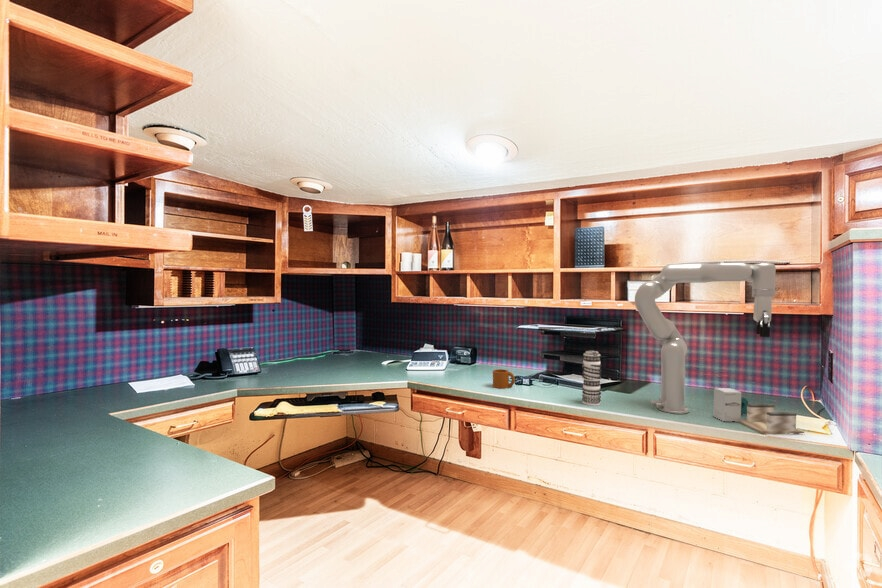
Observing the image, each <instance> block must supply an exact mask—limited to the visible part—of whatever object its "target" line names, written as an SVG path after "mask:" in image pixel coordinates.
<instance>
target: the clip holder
mask: <svg viewBox="0 0 882 588" xmlns="http://www.w3.org/2000/svg"><path fill="white" fill-rule="evenodd" d="M740 423H741V425H742V426H745V427H747V428H748V429H751V430H753V431H755V432H757V433H759V434H762V435H790V434H789V433H794V434H793V435H798V434H797V433H804V434H805V430H802V429H799V428H797V413H796V412H793V411H792V412H791V411H790V412H789V411H783V412H781V411H780V412H779V411H777V412H776V411H775V405H774V404H772V403H748V404H747V415H746V419H745V420H744V419H743V420H742V419H741V420H739V422H738V424H740ZM796 428H797V429H796ZM785 433H787V434H785Z"/></svg>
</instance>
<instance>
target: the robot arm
mask: <svg viewBox="0 0 882 588" xmlns="http://www.w3.org/2000/svg"><path fill="white" fill-rule="evenodd" d="M776 268H777V267H776V265H775V264H774V263H772V262H771V263H769V262H767V263H766V262H762V263H755V264H750V263H745V262H731V263H730V262H728V263H727V262H723V263H706V262H704V263H703V262H700V263H699V262H696V263H670V264H669V263H668V264H666V265H664V266H663V267H662V269H661V271H660V273H659V274H657V275H656V276H655V277H653V279H651V280H650V281H646V282H643V283H642V284H641V285H640V286H639V287H638V289H637V290H636V293H635V295H634V305H635V307H636V310H637V312H638V314H639V316H640V317H641V318H642V320H643V322H644V324H645V326H646V328H647V329H648V331H649V334H650V335H651V336H652V337H653V338H655V339H656V340H658V342H659V343H660V345H661V346H662V347H661V350H660V362H661V364H660V365H661V368H660V369H661V373H660V374H661V375H660V376H661V377H660V379H661V381H660V398H658V399H657V400H649V404H650V405H651V406H656V409H658V411H661V412H664V413H669V414H677V415H678V414H679V415H680V414H681V415H683V414H688V413H689V411H690V410H689V408H688V407H686V406H685V405H686V403H685V401H686V399H685V398H686V355H687V352H688V346H687V343H686V341H685V339H684V338H683V336H682V335H681V333H680V332H679V330H678V329H677V327H676V325H675V324H674V323H673V321H671V320H670V319H669V318H666V317H665V315H664V314H663V312H662V310H661V309H660V307H659V306H658V305H657V303H656V300H657V299H658V298H660V297H662V296H663V295H664V294H666V292H668V291H669V290H671V289H672V288H673V287H675V285H676V284H678V283H679V284H683V283H684V284H686V283H689V284H690V283H693V284H695V283H700V284H702V283H703V284H704V283H712V282H713V283H715V282H745V281H746V282H747V281H751V282H752V283H751V284H752V285H751V287H752V288H751V297H752V298H754V303H753V317H752V318H753V320H754V321H755V322H756V325H755V326H756V327H755V328H756V329H755V330H756V331H755V334H756V335H759V337H761V338H769V337H770V336H771V326H770V322H771V321H772V308H773V307H772V306H773V305H772V303H773V302H772V300H773V299H772V298H776V273H777V271H776Z"/></svg>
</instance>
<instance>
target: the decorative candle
mask: <svg viewBox="0 0 882 588" xmlns="http://www.w3.org/2000/svg"><path fill="white" fill-rule="evenodd" d="M582 355H583V359H582V360H583V361H582V364H581V367H582V368H581V370H582V372H581V374H582V376H581V377H582V379H583V384H582V388H581V389H582V391H581V392H582V395H581V400H582V402H581V403H582V404H584V405H588V406H600V405H601V403H602V396H601V395H602V392H601V391H602V389H601V380H602V377H601V375H602V374H603V373H602V369H601V368H602V367H603V365H602V362H601V354H600V353H599V351H597V350H585V352H584V353H583V354H582Z"/></svg>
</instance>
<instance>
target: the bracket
mask: <svg viewBox="0 0 882 588" xmlns="http://www.w3.org/2000/svg"><path fill="white" fill-rule="evenodd" d="M747 404H749V402H748V400H747V399H746V398H745V397H742V396H741V416H744V415H743V414H747Z"/></svg>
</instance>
